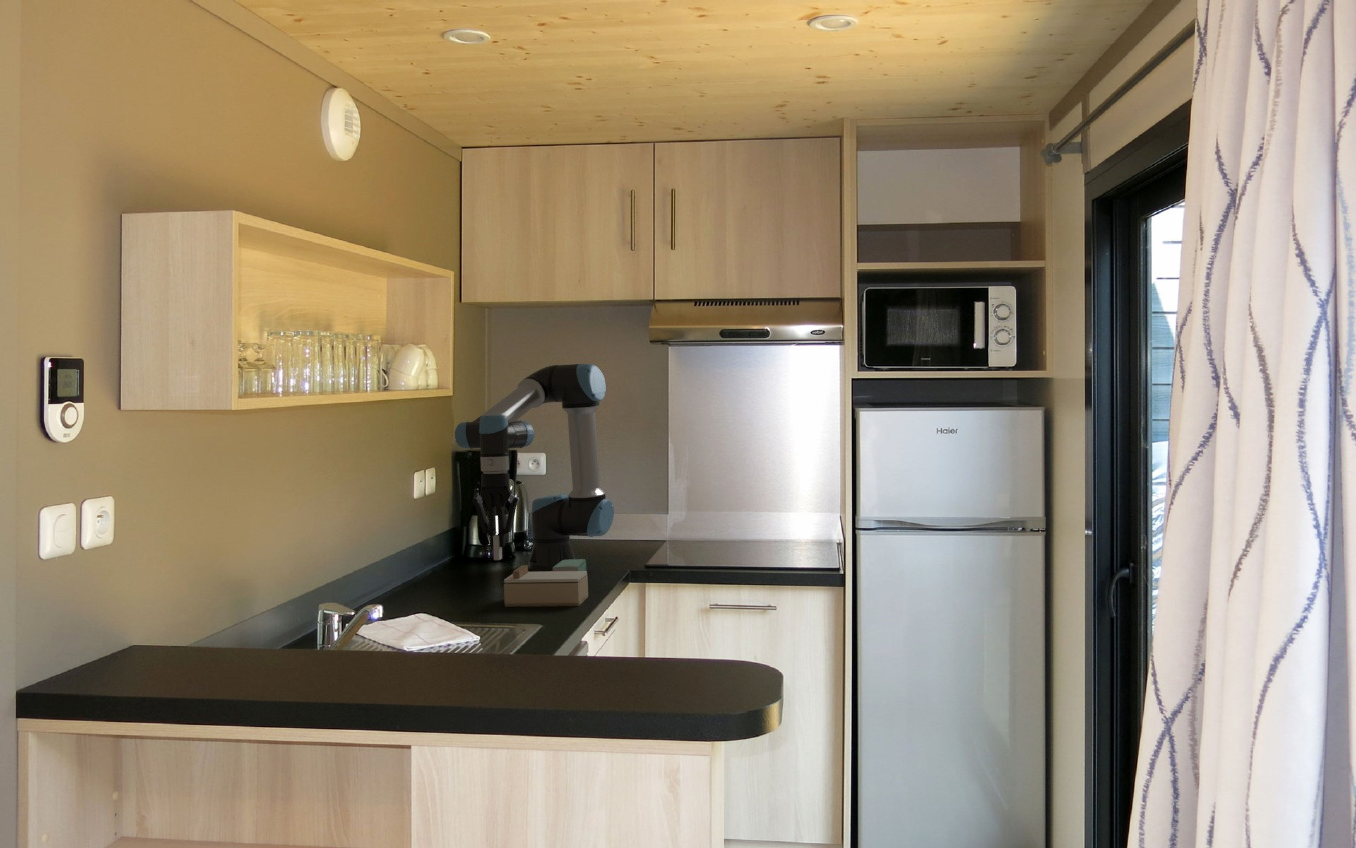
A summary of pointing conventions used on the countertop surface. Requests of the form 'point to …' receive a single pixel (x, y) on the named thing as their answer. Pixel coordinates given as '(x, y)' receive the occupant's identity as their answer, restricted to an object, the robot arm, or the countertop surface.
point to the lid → (544, 576)
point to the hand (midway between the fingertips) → (497, 559)
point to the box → (571, 565)
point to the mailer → (546, 593)
